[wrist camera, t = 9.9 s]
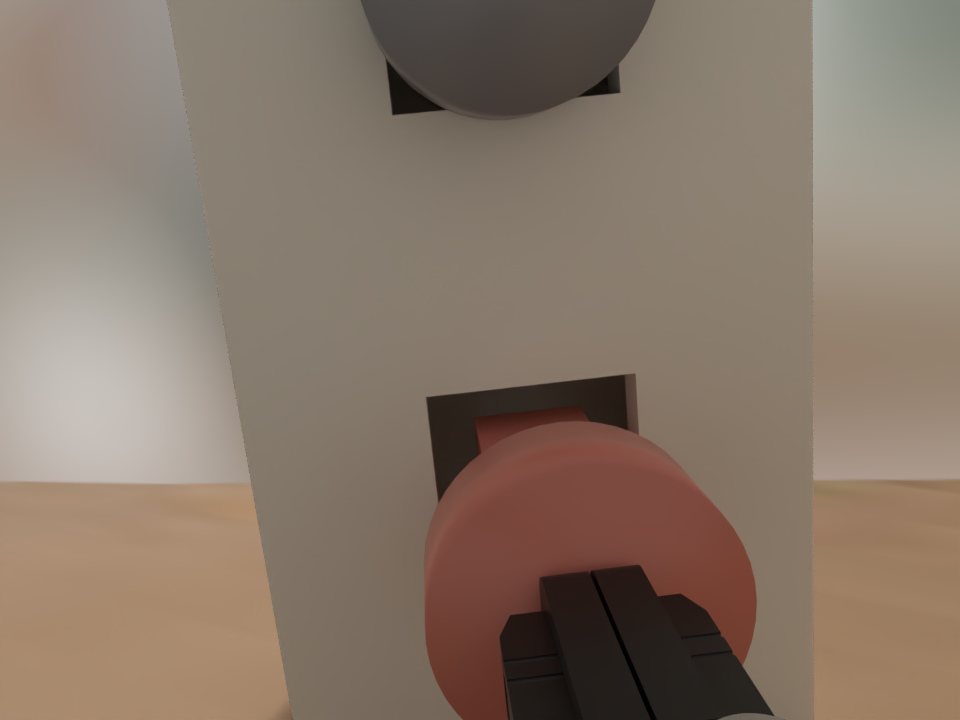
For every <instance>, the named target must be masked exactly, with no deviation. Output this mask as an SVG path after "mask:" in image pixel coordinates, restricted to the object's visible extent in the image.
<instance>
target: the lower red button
mask: <svg viewBox="0 0 960 720" xmlns="http://www.w3.org/2000/svg"><path fill="white" fill-rule="evenodd" d="M474 421H475V431H476V440H477V450H478V456H477V457H476V458H475V459H473V460H472V461H471V462H470V463H469V464H468V465H467V466H466V467H465V468H464V469H463V470H462V471H461V472H460V473H459V474H458V475H457V476H456V478H455V479H454V480H453V482H452V483H451V484H450V486H449V487H448V488H447V490H446V491H445V493H444V495H443V496H442V498H441V500H440V502H439V504H438V505H437V507H436V510H435V512H434V515H433V517H432V520H431V523H430V525H429V529H428V534H427V538H426V542H425V553H424V605H425V637H426V647H427V652H428V657H429V662H430V665H431V668H432V671H433V673H434V676H435V679H436V682H437V683H438V685H439V687H440V689H441V691H442V693H443V695H444V696H445V698H446V700H447V701H448V702H449V704H450V705H451V706H452V708H453V709H454V710H455V712H456V713H457V714H458V715H459V716H460V717H461V718H462V719H463V720H508V718H507V708H506V698H505V688H504V678H503V669H502V659H501V649H500V639H499V637H500V634H501V632H502V630H503V628H504V626H505V624H506V622H507V620H508V618H509V616H510V615H515V614H523V613H531V612H539V611H541V600H540V588H539V579H540V577H543V576H551V575H559V574H567V573H575V572H583V571H588V572H589V574H590V571H591V570H598V569H606V568H614V567H622V566H630V565H640V566H641V567H642V569H643V571H644V572H645V574H646V576H647V578H648V580H649V581H650V583H651V585H652V587H653V589H654V590H655V592H656V594H657V596H664V595H672V594H680V593H681V594H682V595H684V596H685V597H687V598H688V599H690V600H691V601H693V602H695V603H696V604H698V605H699V606H701V607H702V608H704V609H705V610H707V612H708V613H709V615H710V616H711V618H712V619H713V621H714V623H715V624H716V626H717V627H718V629H719V630H720V632H721V636H722V637H724V638H725V640H726V641H727V643H728V644H729V646H730V647H731V649H732V652H733V655H736V657H737V658H738V660H739V661H740V663H741V664H742V666H743V664H744V662H745V659H746V657H747V654H748V651H749V648H750V645H751V642H752V638H753V633H754V628H755V623H756V609H757V596H756V586H755V579H754V575H753V571H752V567H751V562H750V560H749V558H748V555H747V553H746V550H745V548H744V545H743V543H742V542H741V540H740V538H739V536H738V535H737V533H736V531H735V530H734V528H733V527H732V525H731V524H730V523H729V522H728V520H727V519H726V518H725V517H724V515H723V514H722V513H721V512H720V511H719V509H718V508H717V507H716V506H715V505H714V504H713V503H712V501H711V500H710V499H709V498H708V497H707V496H706V495H705V493H704V492H703V491H702V490H701V489H700V488H699V487H698V485H697V484H696V483H695V482H694V481H693V480H692V479H691V478H690V476H689V475H688V474H687V473H686V472H685V471H684V470H683V468H682V467H681V466H680V465H679V464H678V463H677V462H676V461H675V460H674V459H673V458H672V457H671V456H670V455H669V454H667V453H666V452H665V451H664V450H662V449H661V448H660V447H658V446H657V445H655V444H654V443H652V442H651V441H649V440H647V439H645V438H643V437H641V436H639V435H637V434H635V433H633V432H631V431H628V430H625V429H622V428H619V427H616V426H612V425H607V424H602V423H597V422H590V421H589V420H588V418H587V417H586V415H585V414H584V412H583V411H582V409H581V408H580V406H579V405H576V406H567V407H559V408H550V409H541V410H533V411H524V412H516V413H507V414H498V415H490V416H481V417H474Z"/></svg>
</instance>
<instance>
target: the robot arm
mask: <svg viewBox="0 0 960 720" xmlns="http://www.w3.org/2000/svg"><path fill="white" fill-rule="evenodd" d="M539 588H540V600H541V611H539V612H531V613H523V614H515V615H510V616H509V618H508V620H507V622H506V624H505V626H504V628H503V630H502V632H501V634H500V637H499V639H500V649H501V659H502V669H503V678H504V688H505V698H506V708H507V718H508V720H785V719H782V718H779V717H775V716H774V714H773V712H772V711H771V709H770V708H769V706H768V705H767V703H766V702H765V700H764V699H763V697H762V695H761V694H760V692H759V691H758V689H757V688H756V686H755V685H754V683H753V681H752V680H751V678H750V677H749V675H748V674H747V672H746V671H745V669H744V668H743V666H742V664H741V663H740V661H739V660H738V658H737V657H736V655H733V652H732V649H731V647H730V646H729V644H728V643H727V641H726V640H725V638H724V637H722V636H721V632H720V630H719V629H718V627H717V626H716V624H715V623H714V621H713V619H712V618H711V616H710V615H709V613H708V612H707V610H705V609H704V608H702V607H701V606H699V605H698V604H696V603H695V602H693V601H691V600H690V599H688V598H687V597H685V596H684V595H682V594H681V593H680V594H672V595H664V596H657V594H656V592H655V590H654V589H653V587H652V585H651V583H650V581H649V580H648V578H647V576H646V574H645V572H644V571H643V569H642V567H641V566H640V565H630V566H622V567H614V568H606V569H598V570H591V571H590V574H589V572H588V571H583V572H575V573H567V574H559V575H551V576H543V577H540V579H539Z"/></svg>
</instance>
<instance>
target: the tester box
mask: <svg viewBox="0 0 960 720" xmlns="http://www.w3.org/2000/svg"><path fill="white" fill-rule="evenodd" d="M167 5H168V10H169V16H170V21H171V27H172V33H173V39H174V44H175V50H176V56H177V62H178V67H179V73H180V78H181V85H182V90H183V96H184V101H185V107H186V113H187V118H188V125H189V130H190V136H191V142H192V147H193V153H194V159H195V165H196V170H197V176H198V181H199V187H200V193H201V199H202V204H203V210H204V216H205V221H206V227H207V233H208V239H209V244H210V250H211V256H212V262H213V267H214V273H215V279H216V285H217V290H218V296H219V302H220V307H221V313H222V318H223V325H224V330H225V336H226V342H227V348H228V353H229V359H230V364H231V370H232V376H233V382H234V388H235V393H236V399H237V404H238V410H239V415H240V422H241V427H242V433H243V438H244V444H245V450H246V456H247V462H248V467H249V473H250V478H251V485H252V490H253V496H254V502H255V508H256V513H257V519H258V525H259V530H260V536H261V542H262V548H263V553H264V559H265V565H266V570H267V576H268V582H269V588H270V593H271V599H272V605H273V610H274V616H275V622H276V628H277V633H278V639H279V645H280V650H281V656H282V662H283V668H284V673H285V679H286V685H287V690H288V696H289V702H290V708H291V713H292V719H293V720H463V719H462V718H461V717H460V716H459V715H458V714H457V713H456V712H455V710H454V709H453V708H452V706H451V705H450V704H449V702H448V701H447V700H446V698H445V696H444V695H443V693H442V691H441V689H440V687H439V685H438V683H437V682H436V679H435V676H434V673H433V671H432V668H431V665H430V662H429V657H428V652H427V647H426V637H425V605H424V553H425V542H426V538H427V534H428V529H429V525H430V523H431V520H432V517H433V515H434V512H435V510H436V507H437V505H438V504H439V502H440V500H441V498H442V496H443V495H444V493H445V491H446V490H447V488H448V487H449V486H450V484H451V483H452V482H453V480H454V479H455V478H456V476H457V475H458V474H459V473H460V472H461V471H462V470H463V469H464V468H465V467H466V466H467V465H468V464H469V463H470V462H471V461H472V460H473V459H475V458H476V457H477V456H478V450H477V440H476V431H475V421H474V417H481V416H490V415H498V414H507V413H516V412H524V411H533V410H541V409H550V408H559V407H567V406H576V405H579V406H580V408H581V409H582V411H583V412H584V414H585V415H586V417H587V418H588V420H589V421H590V422H597V423H602V424H607V425H612V426H616V427H619V428H622V429H625V430H628V431H631V432H633V433H635V434H637V435H639V436H641V437H643V438H645V439H647V440H649V441H651V442H652V443H654V444H655V445H657V446H658V447H660V448H661V449H662V450H664V451H665V452H666V453H667V454H669V455H670V456H671V457H672V458H673V459H674V460H675V461H676V462H677V463H678V464H679V465H680V466H681V467H682V468H683V470H684V471H685V472H686V473H687V474H688V475H689V476H690V478H691V479H692V480H693V481H694V482H695V483H696V484H697V485H698V487H699V488H700V489H701V490H702V491H703V492H704V493H705V495H706V496H707V497H708V498H709V499H710V500H711V501H712V503H713V504H714V505H715V506H716V507H717V508H718V509H719V511H720V512H721V513H722V514H723V515H724V517H725V518H726V519H727V520H728V522H729V523H730V524H731V525H732V527H733V528H734V530H735V531H736V533H737V535H738V536H739V538H740V540H741V542H742V543H743V545H744V548H745V550H746V553H747V555H748V558H749V560H750V562H751V567H752V571H753V575H754V579H755V586H756V596H757V609H756V623H755V628H754V633H753V638H752V642H751V645H750V648H749V651H748V654H747V657H746V659H745V662H744V664H743V668H744V669H745V671H746V672H747V674H748V675H749V677H750V678H751V680H752V681H753V683H754V685H755V686H756V688H757V689H758V691H759V692H760V694H761V695H762V697H763V699H764V700H765V702H766V703H767V705H768V706H769V708H770V709H771V711H772V712H773V714H774V716H775V717H779V718H782V719H785V720H814V626H813V154H812V153H813V148H812V147H813V142H812V141H813V133H812V131H813V129H812V128H813V126H812V125H813V124H812V122H813V116H812V115H813V113H812V112H813V111H812V110H813V107H812V106H813V105H812V0H655V3H654V6H653V8H652V11H651V13H650V16H649V18H648V21H647V23H646V25H645V26H644V28H643V30H642V32H641V34H640V36H639V38H638V39H637V41H636V42H635V44H634V45H633V47H632V48H631V49H630V51H629V52H628V54H627V55H626V56H625V58H624V59H623V60H622V61H621V62H620V63H619V64H618V65H617V66H616V67H615V68H614V70H613V71H612V72H611V73H609V74H608V75H607V76H606V77H605V78H603V79H602V80H601V81H600V82H599V83H598V84H596V85H595V86H593V87H592V88H590V89H589V90H587V91H586V92H584V93H582V94H581V95H579V96H577V97H575V98H573V99H571V100H569V101H567V102H564V103H562V104H560V105H558V106H555V107H553V108H551V109H548V110H546V111H544V112H541V113H538V114H534V115H531V116H528V117H523V118H517V119H511V120H486V119H476V118H472V117H468V116H464V115H460V114H457V113H454V112H452V111H449V110H447V109H444V108H442V107H440V106H438V105H436V104H435V103H433V102H431V101H429V100H428V99H426V98H425V97H423V96H422V95H421V94H419V93H418V92H417V91H415V90H414V89H413V88H412V87H410V86H409V85H408V84H407V83H406V82H405V81H404V80H403V79H402V78H401V77H400V76H399V75H398V73H397V72H396V71H395V70H394V68H393V67H392V66H391V65H390V63H389V62H388V61H387V59H386V58H385V56H384V54H383V53H382V51H381V49H380V48H379V46H378V44H377V42H376V40H375V38H374V36H373V33H372V31H371V29H370V26H369V24H368V21H367V18H366V15H365V12H364V9H363V6H362V3H361V0H167Z"/></svg>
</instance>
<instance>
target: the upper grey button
mask: <svg viewBox="0 0 960 720" xmlns="http://www.w3.org/2000/svg"><path fill="white" fill-rule="evenodd" d="M361 3H362V6H363V9H364V12H365V15H366V18H367V21H368V24H369V26H370V29H371V31H372V33H373V36H374V38H375V40H376V42H377V44H378V46H379V48H380V49H381V51H382V53H383V54H384V56H385V58H386V59H387V61H388V62H389V63H390V65H391V66H392V67H393V68H394V70H395V71H396V72H397V73H398V75H399V76H400V77H401V78H402V79H403V80H404V81H405V82H406V83H407V84H408V85H409V86H410V87H412V88H413V89H414V90H415V91H417V92H418V93H419V94H421V95H422V96H423V97H425V98H426V99H428V100H429V101H431V102H433V103H435V104H436V105H438V106H440V107H442V108H444V109H447V110H449V111H452V112H454V113H457V114H460V115H464V116H468V117H472V118H476V119H486V120H511V119H517V118H523V117H528V116H531V115H534V114H538V113H541V112H544V111H546V110H548V109H551V108H553V107H555V106H558V105H560V104H562V103H564V102H567V101H569V100H571V99H573V98H575V97H577V96H579V95H581V94H582V93H584V92H586V91H587V90H589V89H590V88H592V87H593V86H595V85H596V84H598V83H599V82H600V81H601V80H602V79H603V78H605V77H606V76H607V75H608V74H609V73H611V72H612V71H613V70H614V68H615V67H616V66H617V65H618V64H619V63H620V62H621V61H622V60H623V59H624V58H625V56H626V55H627V54H628V52H629V51H630V49H631V48H632V47H633V45H634V44H635V42H636V41H637V39H638V38H639V36H640V34H641V32H642V30H643V28H644V26H645V25H646V23H647V21H648V18H649V16H650V13H651V11H652V8H653V6H654V3H655V0H361Z"/></svg>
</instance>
